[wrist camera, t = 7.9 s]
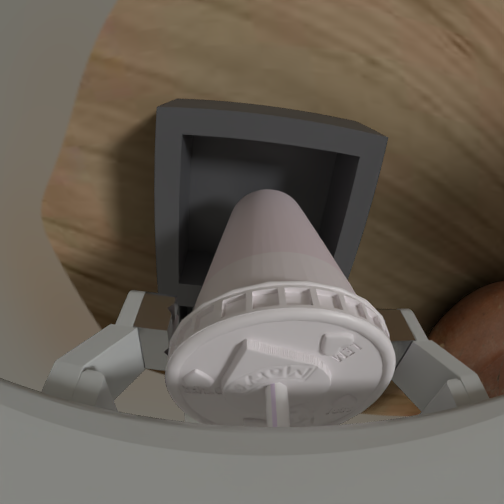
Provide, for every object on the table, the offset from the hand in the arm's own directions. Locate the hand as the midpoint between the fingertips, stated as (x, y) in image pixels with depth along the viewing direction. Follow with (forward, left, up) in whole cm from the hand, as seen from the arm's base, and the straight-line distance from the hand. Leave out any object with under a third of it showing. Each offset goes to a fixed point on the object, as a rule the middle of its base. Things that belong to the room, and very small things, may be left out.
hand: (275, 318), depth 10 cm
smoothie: (0, 0, -7) cm, 7 cm away
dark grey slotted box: (+5, +3, -11) cm, 12 cm away
